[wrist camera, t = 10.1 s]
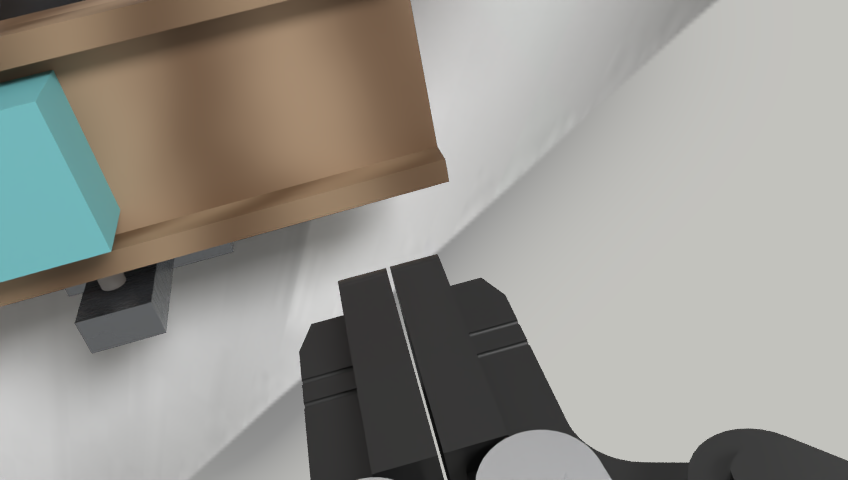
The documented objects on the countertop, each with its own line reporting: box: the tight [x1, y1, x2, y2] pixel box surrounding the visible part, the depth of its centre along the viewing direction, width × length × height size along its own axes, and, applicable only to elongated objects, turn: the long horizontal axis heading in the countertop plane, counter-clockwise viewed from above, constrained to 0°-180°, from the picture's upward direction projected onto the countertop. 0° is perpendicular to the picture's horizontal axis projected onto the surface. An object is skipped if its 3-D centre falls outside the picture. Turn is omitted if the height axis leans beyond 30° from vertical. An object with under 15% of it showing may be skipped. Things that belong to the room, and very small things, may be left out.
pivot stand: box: [0, 0, 233, 353], centre depth 29 cm, size 8×18×8 cm, turn 10°
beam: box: [0, 0, 449, 307], centre depth 26 cm, size 28×12×2 cm, turn 100°
